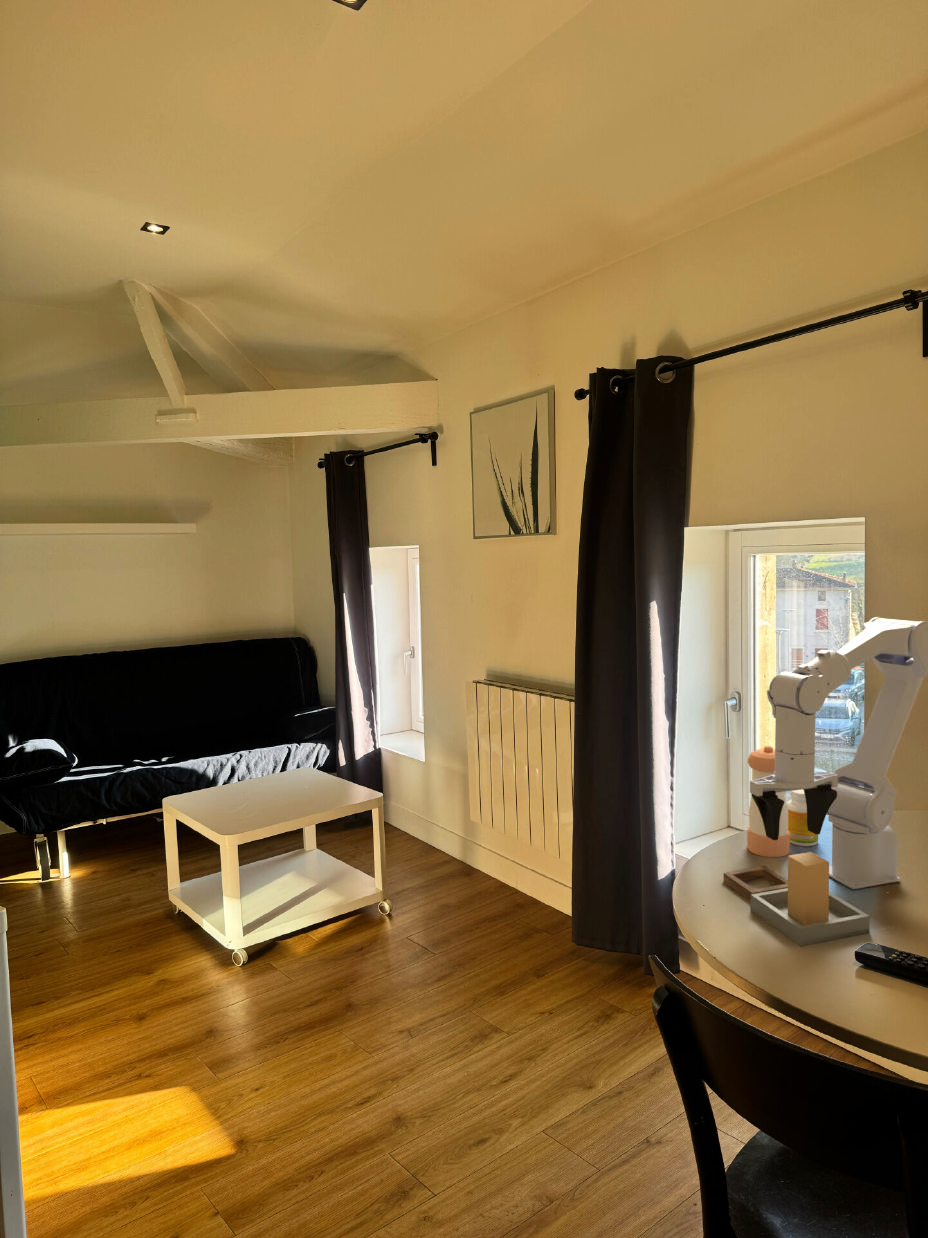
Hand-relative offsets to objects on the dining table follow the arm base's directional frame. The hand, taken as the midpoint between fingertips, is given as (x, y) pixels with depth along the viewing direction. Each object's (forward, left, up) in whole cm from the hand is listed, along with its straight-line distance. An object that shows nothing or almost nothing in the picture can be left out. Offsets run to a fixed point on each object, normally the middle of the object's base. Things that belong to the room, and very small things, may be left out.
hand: (793, 835), depth 128 cm
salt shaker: (-8, -18, -11) cm, 23 cm away
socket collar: (+3, -5, -10) cm, 12 cm away
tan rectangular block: (+3, +7, -10) cm, 12 cm away
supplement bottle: (-16, -19, -11) cm, 27 cm away
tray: (+3, +7, -10) cm, 13 cm away
